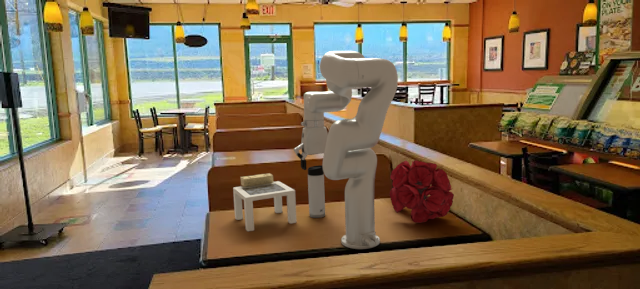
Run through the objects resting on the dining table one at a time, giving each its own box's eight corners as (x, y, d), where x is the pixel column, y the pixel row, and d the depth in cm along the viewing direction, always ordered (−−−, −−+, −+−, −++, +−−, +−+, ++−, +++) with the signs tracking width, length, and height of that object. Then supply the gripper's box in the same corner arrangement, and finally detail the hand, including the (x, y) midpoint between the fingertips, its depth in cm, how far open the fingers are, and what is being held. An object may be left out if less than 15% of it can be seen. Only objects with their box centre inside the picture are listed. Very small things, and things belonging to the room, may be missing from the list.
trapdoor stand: (296, 222, 167) (295, 190, 165) (247, 231, 159) (245, 197, 157) (280, 210, 183) (278, 181, 181) (235, 218, 175) (233, 187, 173)
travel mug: (326, 217, 171) (324, 167, 168) (309, 218, 172) (307, 167, 169) (326, 212, 178) (324, 163, 175) (309, 213, 178) (307, 164, 175)
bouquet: (377, 233, 172) (415, 214, 146) (367, 175, 180) (401, 147, 154) (426, 229, 179) (470, 210, 153) (414, 173, 187) (453, 147, 161)
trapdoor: (284, 192, 167) (284, 180, 166) (251, 197, 161) (250, 185, 161) (271, 183, 181) (270, 173, 180) (240, 188, 175) (239, 177, 175)
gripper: (297, 127, 162) (298, 172, 165) (338, 123, 170) (339, 167, 172) (289, 124, 169) (291, 168, 172) (330, 121, 176) (331, 163, 179)
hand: (315, 167), depth 172 cm, fingers open, 9 cm apart
